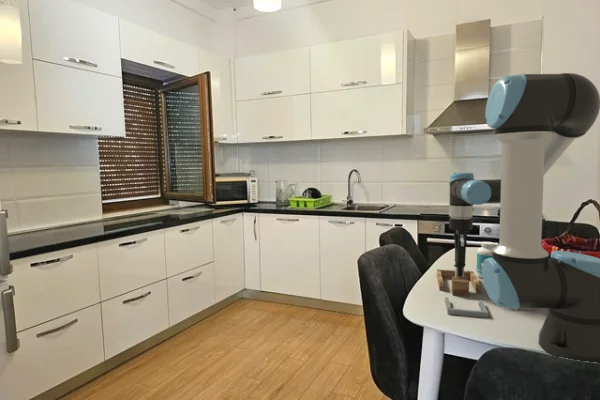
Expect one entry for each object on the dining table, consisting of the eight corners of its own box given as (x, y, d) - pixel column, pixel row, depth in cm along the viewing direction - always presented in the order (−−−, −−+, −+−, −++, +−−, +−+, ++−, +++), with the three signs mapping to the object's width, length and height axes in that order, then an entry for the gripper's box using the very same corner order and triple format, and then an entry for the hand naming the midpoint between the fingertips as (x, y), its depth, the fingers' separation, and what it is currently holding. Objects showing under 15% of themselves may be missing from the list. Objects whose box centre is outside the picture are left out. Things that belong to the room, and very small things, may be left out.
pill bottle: (496, 281, 145) (497, 245, 144) (475, 278, 149) (476, 243, 148) (498, 275, 152) (499, 241, 150) (477, 273, 156) (478, 240, 154)
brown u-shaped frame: (479, 293, 133) (480, 284, 133) (439, 290, 136) (439, 282, 136) (472, 279, 148) (473, 271, 148) (436, 276, 152) (436, 269, 151)
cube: (468, 296, 130) (469, 282, 129) (452, 295, 131) (453, 280, 131) (466, 291, 135) (467, 277, 134) (451, 290, 136) (451, 276, 136)
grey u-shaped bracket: (488, 317, 113) (488, 312, 112) (447, 314, 116) (447, 309, 116) (482, 304, 123) (482, 300, 122) (444, 301, 126) (445, 297, 126)
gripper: (475, 220, 126) (473, 291, 129) (470, 215, 139) (468, 279, 141) (450, 220, 128) (449, 289, 131) (447, 214, 141) (446, 278, 143)
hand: (459, 284), depth 136 cm, fingers closed
